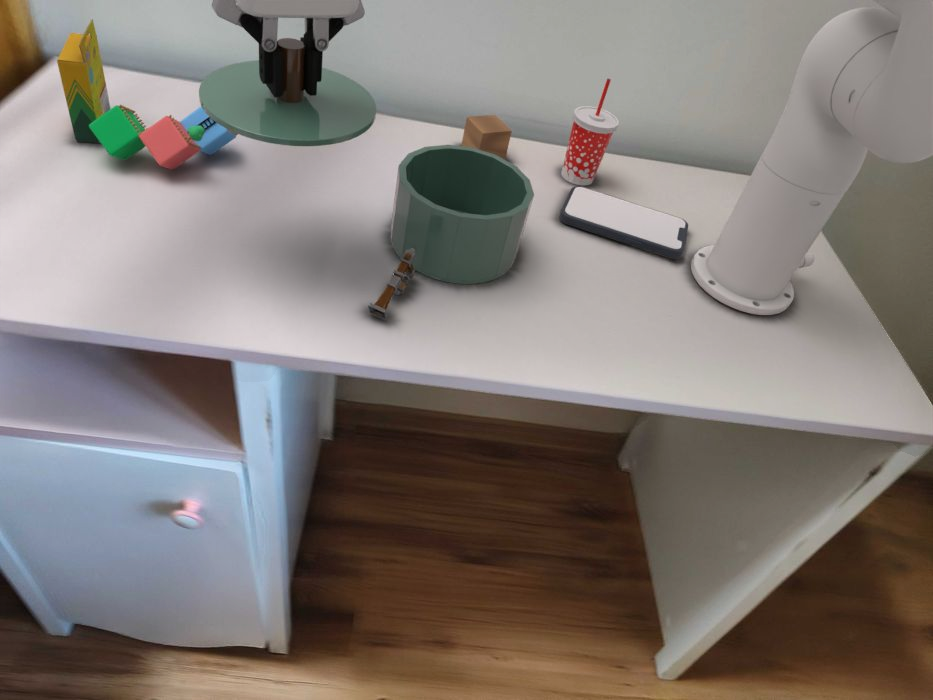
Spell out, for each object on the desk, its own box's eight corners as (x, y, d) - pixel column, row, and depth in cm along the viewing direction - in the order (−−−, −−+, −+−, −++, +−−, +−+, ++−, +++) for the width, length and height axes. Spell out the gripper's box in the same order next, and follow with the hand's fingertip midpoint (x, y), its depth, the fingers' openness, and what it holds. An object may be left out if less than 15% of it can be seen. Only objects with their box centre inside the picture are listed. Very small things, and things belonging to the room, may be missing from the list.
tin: (477, 201, 88) (491, 140, 82) (538, 272, 79) (558, 209, 73) (370, 216, 81) (377, 150, 75) (424, 294, 73) (436, 227, 67)
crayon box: (86, 112, 86) (66, 14, 78) (112, 114, 86) (95, 18, 79) (74, 142, 81) (51, 41, 73) (101, 144, 81) (82, 44, 73)
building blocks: (159, 192, 85) (239, 136, 84) (130, 186, 77) (218, 124, 76) (119, 136, 83) (200, 79, 83) (85, 124, 75) (174, 61, 75)
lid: (340, 69, 72) (343, 9, 68) (402, 145, 63) (410, 81, 59) (181, 74, 65) (175, 6, 61) (225, 160, 56) (221, 88, 52)
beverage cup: (590, 193, 94) (625, 95, 85) (549, 177, 96) (579, 78, 86) (603, 176, 99) (637, 80, 89) (564, 160, 100) (593, 64, 90)
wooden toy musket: (423, 270, 74) (421, 247, 70) (388, 331, 71) (384, 311, 67) (408, 264, 74) (405, 241, 70) (372, 325, 71) (367, 304, 67)
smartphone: (555, 224, 88) (678, 264, 86) (559, 213, 87) (683, 253, 84) (570, 193, 94) (685, 229, 92) (573, 182, 93) (690, 219, 91)
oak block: (488, 144, 99) (495, 114, 96) (504, 161, 96) (512, 130, 93) (460, 147, 97) (466, 116, 94) (476, 164, 94) (482, 133, 91)
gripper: (188, -158, 44) (208, 114, 57) (416, -131, 51) (389, 105, 64) (163, -185, 48) (187, 73, 61) (376, -157, 56) (358, 69, 68)
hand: (290, 87), depth 62 cm, fingers closed on lid, 2 cm apart
